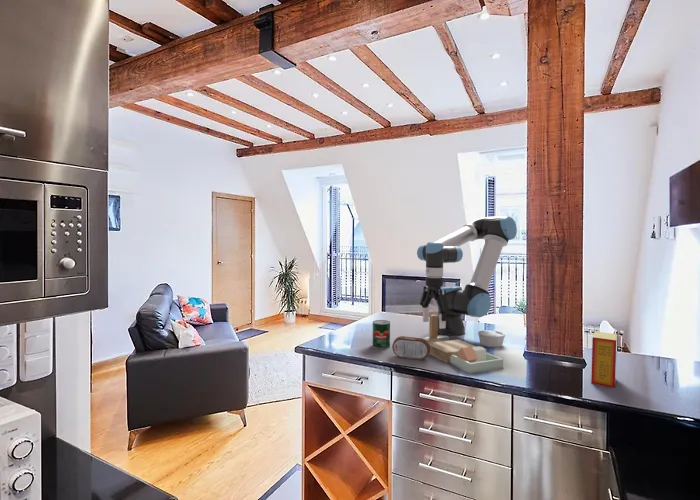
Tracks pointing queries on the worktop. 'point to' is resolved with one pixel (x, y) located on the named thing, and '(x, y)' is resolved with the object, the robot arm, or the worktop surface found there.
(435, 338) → the scraper
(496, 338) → the ramekin
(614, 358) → the baking soda box
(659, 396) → the worktop surface
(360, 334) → the worktop surface
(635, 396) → the worktop surface
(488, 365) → the box
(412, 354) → the tin
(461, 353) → the terracotta block
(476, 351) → the cream block
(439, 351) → the tan flat block
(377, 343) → the canned tomato
